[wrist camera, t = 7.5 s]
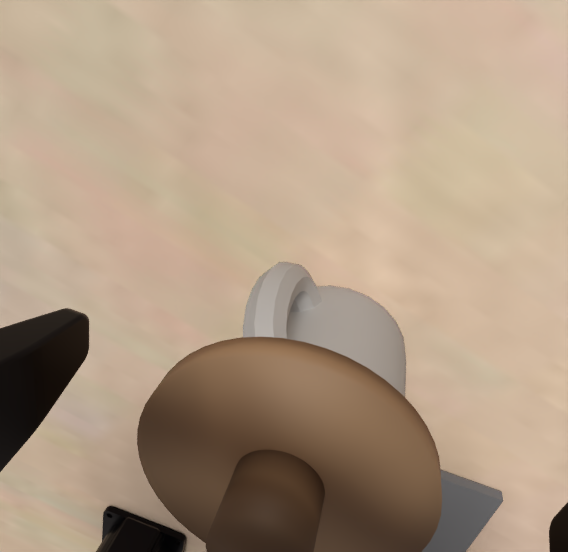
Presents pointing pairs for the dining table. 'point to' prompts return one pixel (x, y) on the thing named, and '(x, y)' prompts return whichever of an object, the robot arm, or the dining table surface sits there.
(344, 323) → the cup
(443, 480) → the mat
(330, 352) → the lid
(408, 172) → the dining table surface
